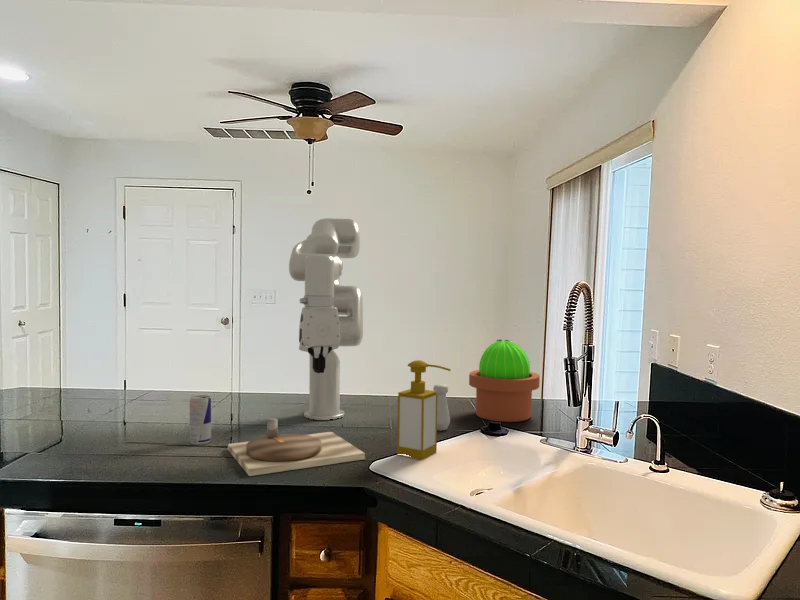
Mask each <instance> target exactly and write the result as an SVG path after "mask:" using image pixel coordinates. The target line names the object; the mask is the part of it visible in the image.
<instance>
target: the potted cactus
mask: <svg viewBox="0 0 800 600" xmlns="http://www.w3.org/2000/svg"><path fill="white" fill-rule="evenodd" d="M493 342H494V343H490V345H489V346H487V347H486V348H485V351H482V352H483V353H482V355H481V354H480V360H479V363H477V364H479V365H478V369H475V370H472V371H470V372H469V375H468V376H469V377H468V378H469V379H468V385H469V386H470V387H472V388H475V390H476V391H475V392H476V395H475V413H476V414H475V415H476V417H478V418H481V419H483V420H487V421H493V422H502V423H503V422H504V423H517V422H524V421H527V420H529V419H530V418H531V417H532V407H533V405H532V403H533V401H532V400H533V398H532V397H533V396H532V395H533V393H532V392H533V391H534V390H535V391H536V390H538V389H539V388H540V385H541V384H540V383H541V382H540V380H541V379H540V378H541V377H540V374H538V373H536V372H533V371H530V370H531V366H530V365H531V364H530V363H531V361H529V359H530V358H529V357H528V355H527V353H526V351H525V350H524V349H522V347H521V346H520V344H518V343H515V342H513V341H511V340H510V339H509V340H508V339H505V340H503V339H497V340H494V341H493Z"/></svg>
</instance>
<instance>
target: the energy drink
mask: <svg viewBox="0 0 800 600" xmlns="http://www.w3.org/2000/svg"><path fill="white" fill-rule="evenodd" d="M211 441H212V398H211V396H210V395H204V394H203V395H194V396H191V397H190V399H189V443H190V444H191V445H194V446H203V445H207V444H209V443H211Z"/></svg>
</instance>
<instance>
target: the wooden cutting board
mask: <svg viewBox="0 0 800 600" xmlns="http://www.w3.org/2000/svg"><path fill="white" fill-rule="evenodd" d="M307 435H309V436H313V437H316V438H318V439H320V440H321V442H322V449H321V451H320V452H319V453H318V454H316V455H314V456H311V457H308V458H304V459H299V460H291V461H266V460H260V459H255V458H252V457H250V456H249V455H247V453H246V445H247V443H248V442H249V441H243V442H241V441H240V442H234V443H228V444H227V451H228V452H229V453H230V454H231V456H232V457H233V459H235V460H236V461H237V463H238V464H239V465H240V466H241V468H242V469H243V470H244V472H245V473H246V474H247V475H248V476H249V477H252V476H261V475H266V474H267V475H268V474H272V473H273V474H274V473H279V472H286V471H287V472H288V471H294V470H295V471H296V470H301V469H307V468H314V467H315V468H316V467H321V466H329V465H335V464H341V463H349V462H356V461H362V460H366V453H365V452H363V450H361V449H359V448H358V447H356V446H354V445H353V444H352V443H350V442H348V441H347V440H345V439H344V438H343V437H340V436H339V435H337V434H336V433H335V432H332V431H327V432H317V433H310V434H307Z"/></svg>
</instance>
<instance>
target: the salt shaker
mask: <svg viewBox="0 0 800 600" xmlns="http://www.w3.org/2000/svg"><path fill="white" fill-rule="evenodd" d="M432 391H437V393H436V394H437V431H442V430H443V431H446V430H448V427H449V425H450V423H451V417H450V411H449V406H448V400H447V393H448V392H449V386H448V385H447V384H444V383H437V384H434V385H433V390H432Z"/></svg>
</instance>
